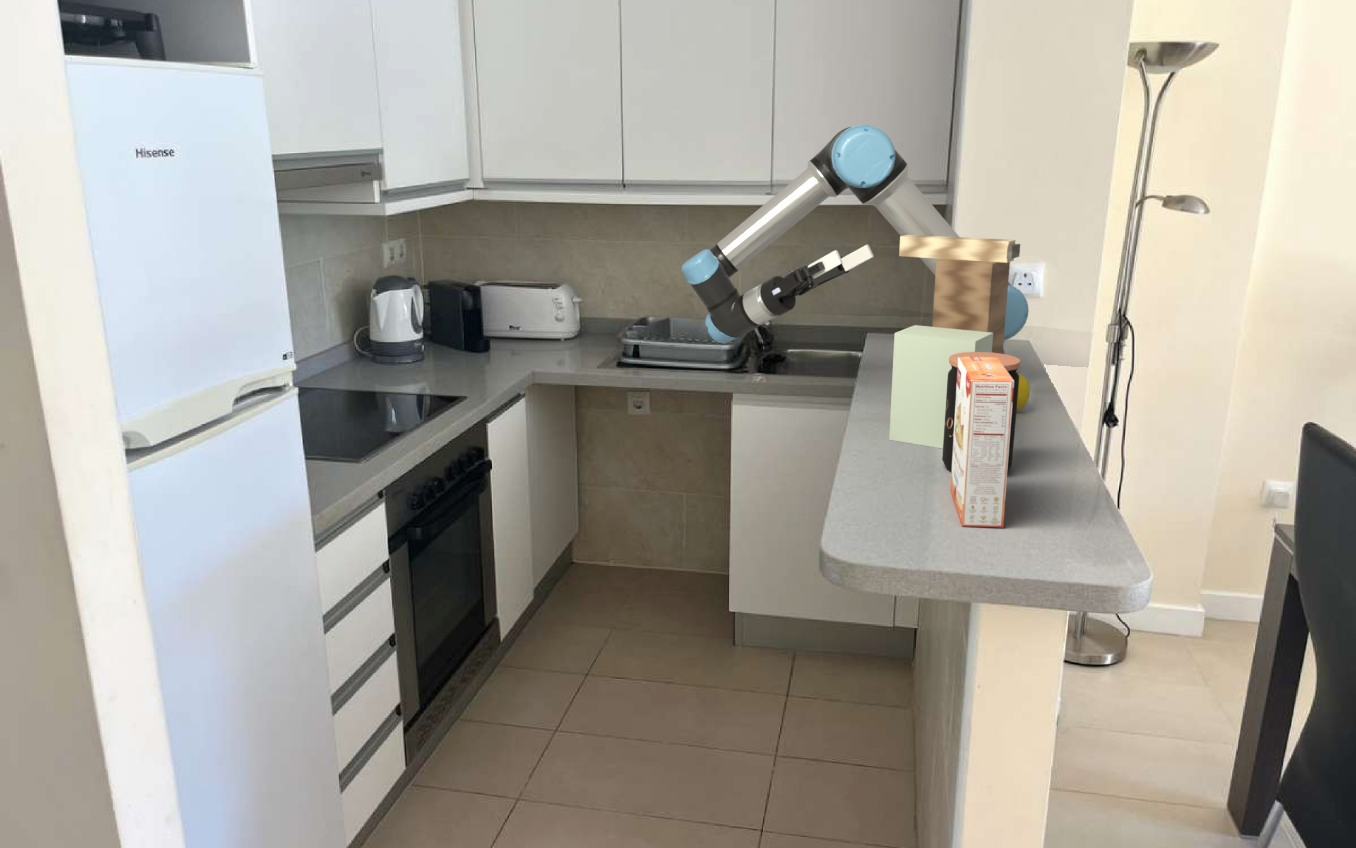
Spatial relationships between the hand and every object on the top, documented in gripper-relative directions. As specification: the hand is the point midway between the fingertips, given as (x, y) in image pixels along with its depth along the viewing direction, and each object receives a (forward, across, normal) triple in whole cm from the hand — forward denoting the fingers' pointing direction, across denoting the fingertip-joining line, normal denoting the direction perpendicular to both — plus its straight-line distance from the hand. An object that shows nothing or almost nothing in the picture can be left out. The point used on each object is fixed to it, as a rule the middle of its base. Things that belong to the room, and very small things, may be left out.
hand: (855, 253), depth 192 cm
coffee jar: (+16, +26, -44) cm, 53 cm away
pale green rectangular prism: (+6, +14, -38) cm, 41 cm away
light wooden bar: (+17, 0, -10) cm, 20 cm away
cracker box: (+21, +44, -47) cm, 68 cm away
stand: (+6, 0, -37) cm, 38 cm away
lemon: (+11, -11, -40) cm, 43 cm away
